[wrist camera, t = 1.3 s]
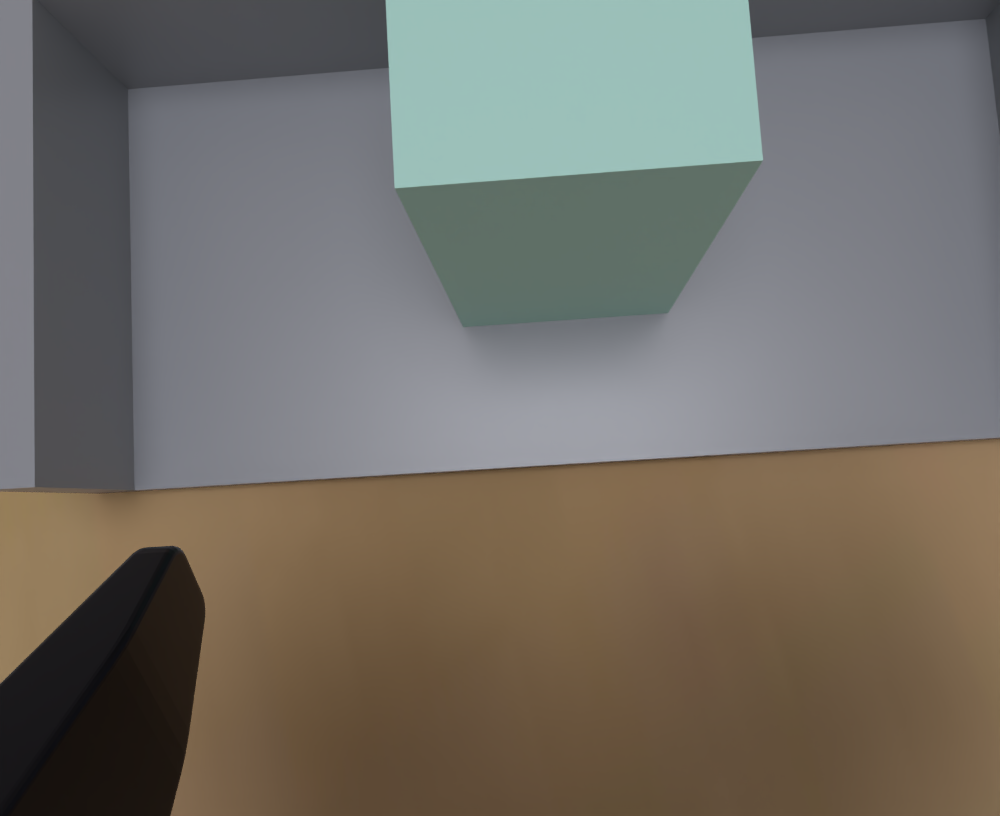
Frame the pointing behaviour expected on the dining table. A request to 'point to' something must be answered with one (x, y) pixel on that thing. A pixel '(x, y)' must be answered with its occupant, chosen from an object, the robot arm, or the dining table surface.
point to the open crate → (415, 284)
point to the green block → (570, 147)
